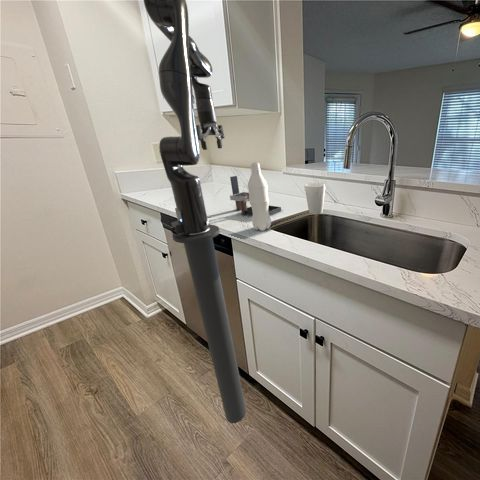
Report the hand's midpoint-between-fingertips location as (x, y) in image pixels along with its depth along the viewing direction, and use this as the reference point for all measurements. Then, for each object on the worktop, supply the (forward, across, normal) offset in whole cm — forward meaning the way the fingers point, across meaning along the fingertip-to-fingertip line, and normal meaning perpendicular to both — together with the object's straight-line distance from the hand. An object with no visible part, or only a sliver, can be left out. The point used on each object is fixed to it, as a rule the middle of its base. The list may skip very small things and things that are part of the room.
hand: (212, 149), depth 123 cm
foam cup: (+28, -12, +49) cm, 58 cm away
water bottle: (+28, +16, +41) cm, 52 cm away
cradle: (+28, -1, +15) cm, 32 cm away
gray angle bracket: (+23, -1, +15) cm, 28 cm away
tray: (+28, -1, +25) cm, 38 cm away
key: (+22, -2, +15) cm, 27 cm away
